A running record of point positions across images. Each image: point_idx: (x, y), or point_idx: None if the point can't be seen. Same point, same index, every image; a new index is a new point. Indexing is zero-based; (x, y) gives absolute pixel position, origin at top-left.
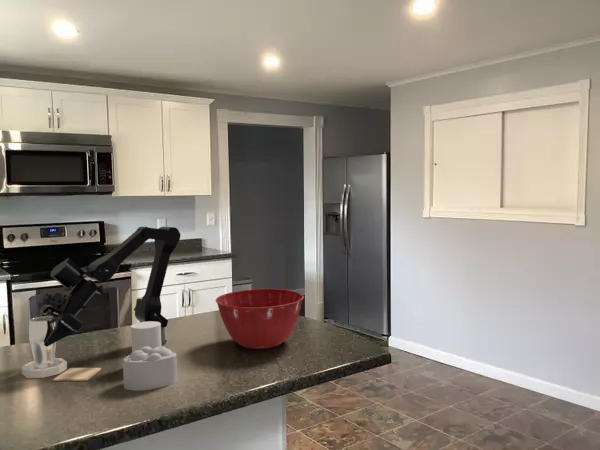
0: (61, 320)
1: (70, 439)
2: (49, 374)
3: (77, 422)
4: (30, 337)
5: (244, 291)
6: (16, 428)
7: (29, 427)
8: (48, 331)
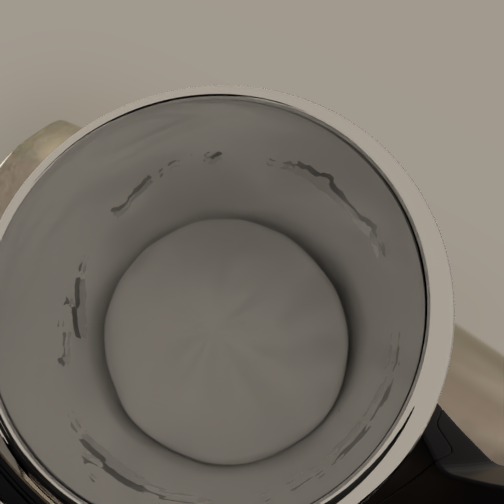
0: (7, 461)
1: (4, 160)
2: None
3: (3, 184)
4: (246, 218)
5: None
6: (64, 133)
7: (49, 143)
8: (80, 284)
